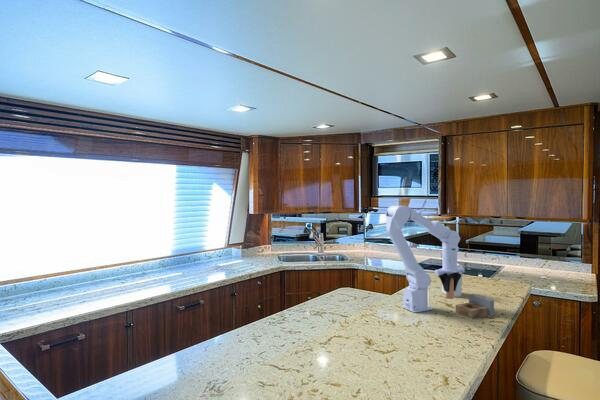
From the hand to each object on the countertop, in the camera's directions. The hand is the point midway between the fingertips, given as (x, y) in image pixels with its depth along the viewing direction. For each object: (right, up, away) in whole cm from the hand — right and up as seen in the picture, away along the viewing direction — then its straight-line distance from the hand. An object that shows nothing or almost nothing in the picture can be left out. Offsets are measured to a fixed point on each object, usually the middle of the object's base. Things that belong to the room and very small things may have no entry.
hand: (449, 290), depth 151 cm
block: (+4, -7, -10) cm, 13 cm away
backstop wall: (+9, -6, -8) cm, 14 cm away
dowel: (0, -3, 0) cm, 3 cm away
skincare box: (+8, -6, +17) cm, 20 cm away
